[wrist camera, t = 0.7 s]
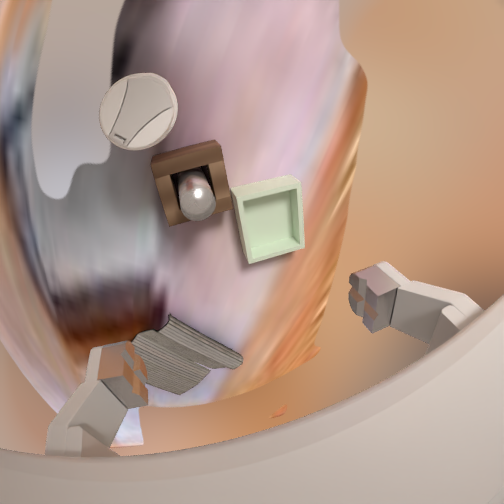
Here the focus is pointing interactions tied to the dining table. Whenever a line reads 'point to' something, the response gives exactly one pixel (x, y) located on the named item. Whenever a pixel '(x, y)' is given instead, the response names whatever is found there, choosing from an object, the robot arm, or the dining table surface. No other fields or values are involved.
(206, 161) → the socket block
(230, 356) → the mat
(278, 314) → the dining table surface
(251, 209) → the tray
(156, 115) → the paper cup
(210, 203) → the steel pin
